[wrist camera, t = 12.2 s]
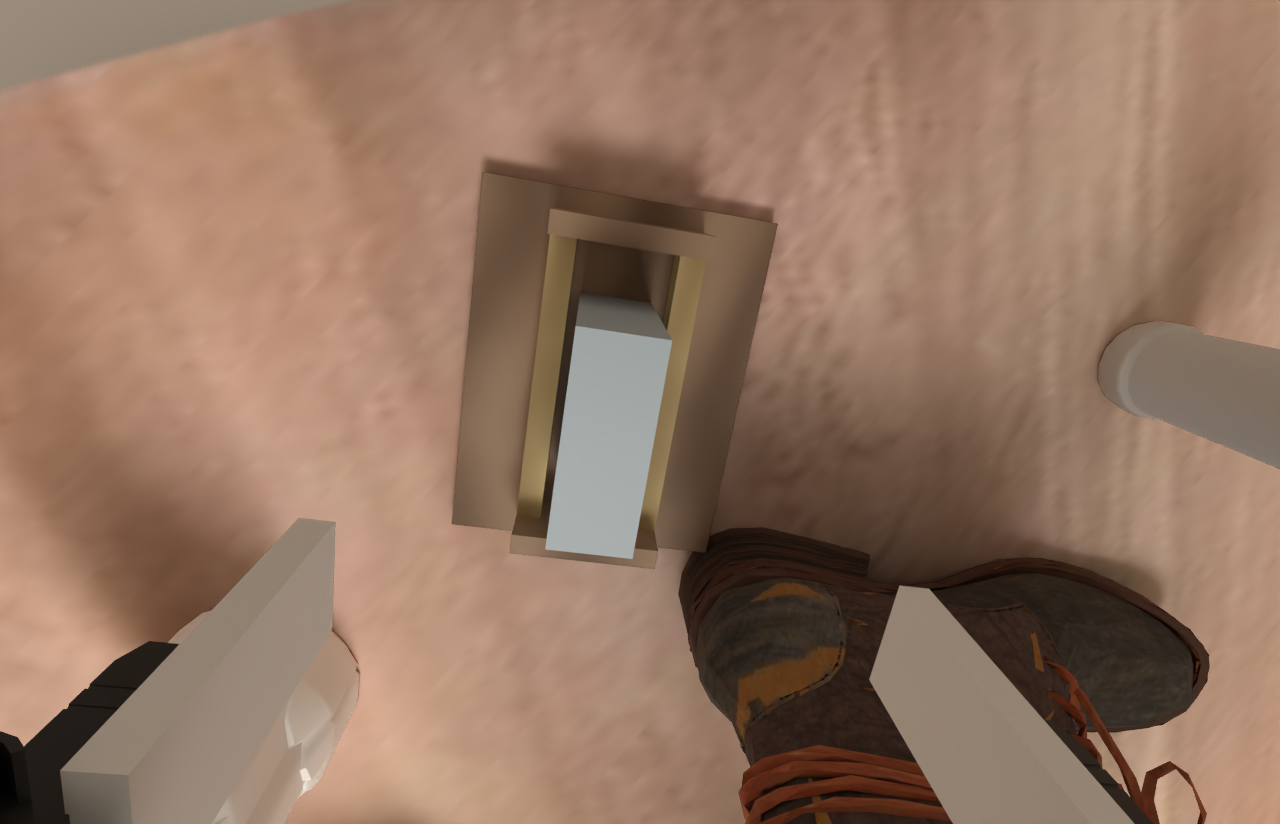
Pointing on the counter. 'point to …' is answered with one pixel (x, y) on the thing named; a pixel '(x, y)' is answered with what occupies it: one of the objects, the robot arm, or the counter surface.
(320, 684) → the decorative vase
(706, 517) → the track sill
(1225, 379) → the bottle
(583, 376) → the light gray rectangular block
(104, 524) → the counter surface
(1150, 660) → the ankle boot
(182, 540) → the counter surface
